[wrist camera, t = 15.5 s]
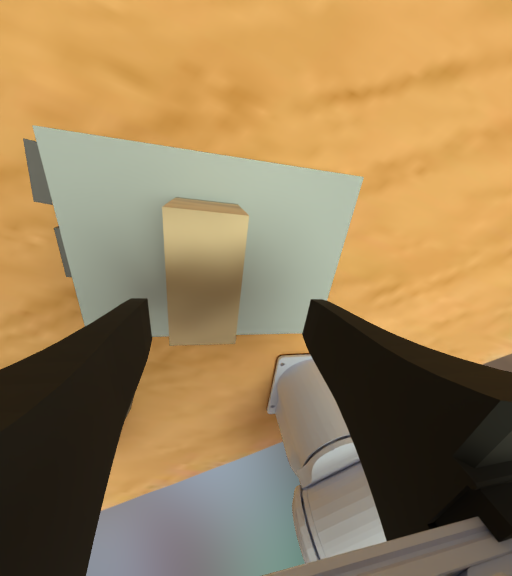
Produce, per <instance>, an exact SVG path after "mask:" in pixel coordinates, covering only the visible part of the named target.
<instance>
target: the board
mask: <svg viewBox="0 0 512 576" xmlns="http://www.w3.org/2000/svg"><path fill="white" fill-rule="evenodd" d="M32 126H33V129H34V133H35V137H36V141H37V145H38V149H39V152H40V156H41V160H42V164H43V168H44V172H45V175H46V179H47V183H48V187H49V191H50V195H51V198H52V202H53V206H54V210H55V214H56V217H57V221H58V225H59V229H60V233H61V237H62V240H63V244H64V248H65V252H66V256H67V260H68V263H69V267H70V271H71V275H72V279H73V283H74V286H75V290H76V294H77V298H78V302H79V305H80V309H81V313H82V317H83V321H84V325H85V326H87V325H89V324H90V323H92V322H94V321H95V320H97V319H98V318H100V317H101V316H103V315H105V314H106V313H108V312H109V311H111V310H112V309H114V308H116V307H117V306H119V305H120V304H122V303H123V302H125V301H127V300H129V299H131V298H147V299H148V307H149V316H150V325H151V333H152V337H162V336H169V327H168V308H167V290H166V271H165V253H164V235H163V216H162V206H164V205H165V204H167V203H168V202H169V201H171V200H172V199H174V198H175V197H182V198H190V199H199V200H208V201H216V202H225V203H234V204H238V205H239V206H240V207H241V208H242V209H243V210H244V211H245V212H246V213H247V214H248V215H249V223H248V232H247V241H246V250H245V259H244V268H243V277H242V287H241V296H240V305H239V314H238V323H237V332H236V335H248V334H290V333H303V329H304V325H305V321H306V317H307V313H308V309H309V305H310V301H311V299H323V300H326V301H327V298H328V295H329V292H330V288H331V285H332V282H333V278H334V275H335V272H336V268H337V265H338V262H339V258H340V255H341V252H342V248H343V245H344V242H345V238H346V235H347V231H348V228H349V225H350V221H351V218H352V215H353V211H354V208H355V205H356V201H357V198H358V195H359V191H360V188H361V185H362V181H363V178H364V177H360V176H353V175H347V174H341V173H334V172H328V171H321V170H315V169H309V168H302V167H296V166H289V165H283V164H277V163H270V162H264V161H258V160H251V159H245V158H238V157H232V156H226V155H219V154H213V153H206V152H200V151H194V150H187V149H181V148H174V147H168V146H162V145H155V144H149V143H142V142H136V141H130V140H123V139H117V138H110V137H104V136H98V135H91V134H85V133H78V132H72V131H66V130H59V129H53V128H46V127H40V126H34V125H32Z"/></svg>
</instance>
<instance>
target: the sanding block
mask: <svg viewBox="0 0 512 576" xmlns="http://www.w3.org/2000/svg"><path fill="white" fill-rule="evenodd" d="M162 216H163V235H164V253H165V271H166V290H167V308H168V327H169V345H170V346H175V345H211V344H235V341H236V332H237V323H238V314H239V305H240V296H241V287H242V277H243V268H244V259H245V250H246V241H247V232H248V223H249V215H248V214H247V213H246V212H245V211H244V210H243V209H242V208H241V207H240V206H239V205H238V204H234V203H225V202H216V201H208V200H199V199H190V198H182V197H175V198H174V199H172V200H171V201H169V202H168V203H167V204H165V205H164V206H162Z"/></svg>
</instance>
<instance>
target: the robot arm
mask: <svg viewBox="0 0 512 576" xmlns="http://www.w3.org/2000/svg"><path fill="white" fill-rule="evenodd" d="M302 335H303V338H304V340H305V343H306V346H307V348H308V351H309V353H310V354H305V355H284V356H280V357H279V358H278V361H277V365H276V370H275V374H274V379H273V384H272V388H271V393H270V398H269V402H268V407H267V413H268V414H275V415H276V418H277V422H278V425H279V429H280V433H281V436H282V440H283V443H284V447H285V450H286V454H287V457H288V461H289V464H290V466H291V467H292V470H293V471H294V473H295V474H296V475H297V476H298V478H299V481H300V484H301V485H299V486H297V487H296V488H295V491H294V498H293V503H292V511H293V518H294V525H295V529H296V534H297V538H298V542H299V546H300V549H301V552H302V556H303V558H304V561H305V564H303V565H299V566H295V567H292V568H288V569H284V570H281V571H277V572H273V573H270V574H266V575H262V576H512V372H508V371H503V370H499V369H495V368H491V367H488V366H484V365H481V364H477V363H474V362H470V361H467V360H463V359H460V358H457V357H454V356H451V355H448V354H445V353H442V352H439V351H436V350H433V349H430V348H427V347H424V346H422V345H419V344H417V343H414V342H412V341H409V340H407V339H404V338H402V337H399V336H397V335H395V334H392V333H390V332H388V331H386V330H384V329H382V328H380V327H378V326H375V325H373V324H371V323H369V322H367V321H365V320H364V319H362V318H360V317H358V316H356V315H354V314H352V313H350V312H348V311H346V310H344V309H343V308H341V307H339V306H337V305H335V304H333V303H331V302H328V301H326V300H323V299H311V301H310V305H309V309H308V313H307V317H306V321H305V325H304V329H303V333H302ZM151 342H152V333H151V325H150V316H149V307H148V299H147V298H131V299H129V300H127V301H125V302H123V303H122V304H120V305H119V306H117V307H116V308H114V309H112V310H111V311H109V312H108V313H106V314H105V315H103V316H101V317H100V318H98V319H97V320H95V321H94V322H92V323H90V324H89V325H87V326H85V327H83V328H82V329H80V330H78V331H77V332H75V333H73V334H71V335H70V336H68V337H66V338H64V339H63V340H61V341H59V342H57V343H55V344H53V345H52V346H50V347H48V348H46V349H44V350H42V351H40V352H38V353H36V354H33V355H31V356H29V357H27V358H25V359H23V360H21V361H19V362H17V363H15V364H12V365H10V366H8V367H5V368H3V369H1V370H0V576H86V573H87V568H88V563H89V559H90V554H91V549H92V545H93V541H94V536H95V532H96V528H97V524H98V520H99V515H100V511H101V507H102V503H103V499H104V494H105V491H106V487H107V483H108V479H109V475H110V471H111V467H112V463H113V459H114V456H115V452H116V448H117V445H118V441H119V437H120V434H121V430H122V427H123V424H124V421H125V418H126V415H127V412H128V409H129V407H130V404H131V402H132V399H133V396H134V394H135V391H136V389H137V386H138V383H139V381H140V378H141V375H142V373H143V370H144V367H145V365H146V362H147V359H148V355H149V351H150V346H151ZM281 363H282V364H281Z"/></svg>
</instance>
